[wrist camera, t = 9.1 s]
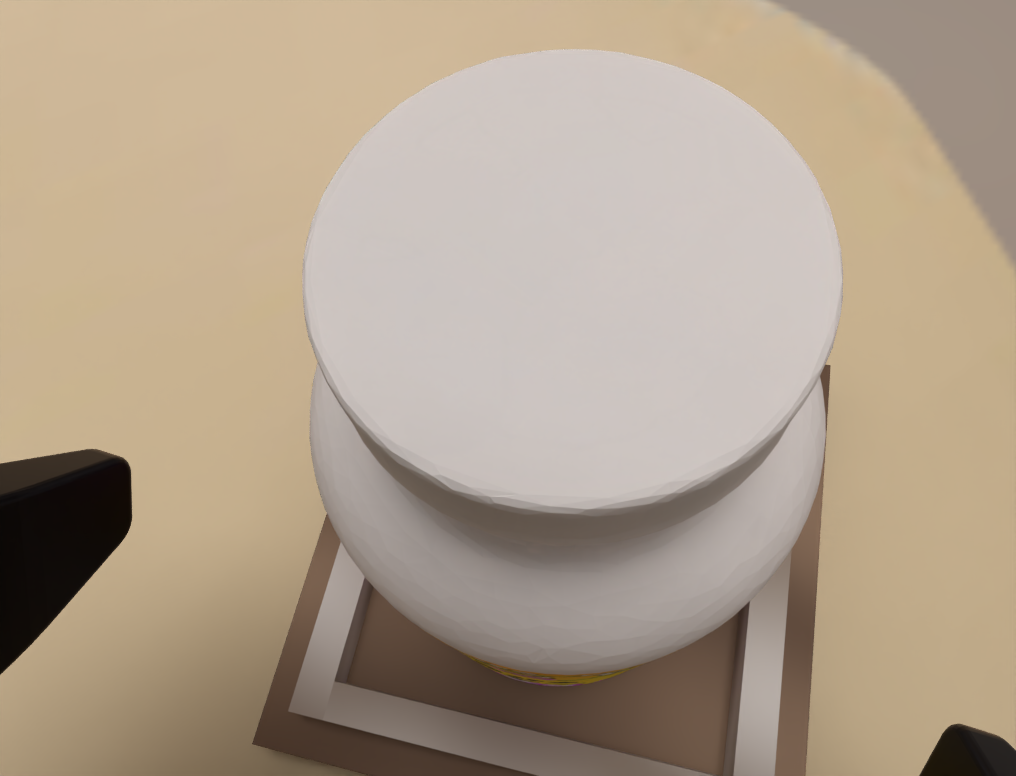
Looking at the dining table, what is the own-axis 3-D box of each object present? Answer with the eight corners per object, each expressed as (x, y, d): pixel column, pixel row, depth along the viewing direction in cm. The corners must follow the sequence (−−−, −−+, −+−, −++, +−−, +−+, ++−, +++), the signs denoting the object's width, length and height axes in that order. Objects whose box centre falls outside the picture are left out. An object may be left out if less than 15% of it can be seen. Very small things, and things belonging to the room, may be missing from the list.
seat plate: (781, 876, 16) (813, 901, 14) (271, 742, 18) (234, 745, 16) (815, 383, 21) (843, 348, 19) (406, 313, 22) (391, 273, 20)
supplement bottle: (366, 548, 18) (30, 260, 7) (548, 369, 20) (540, -116, 8) (566, 758, 16) (599, 890, 4) (751, 539, 18) (1132, 213, 6)
